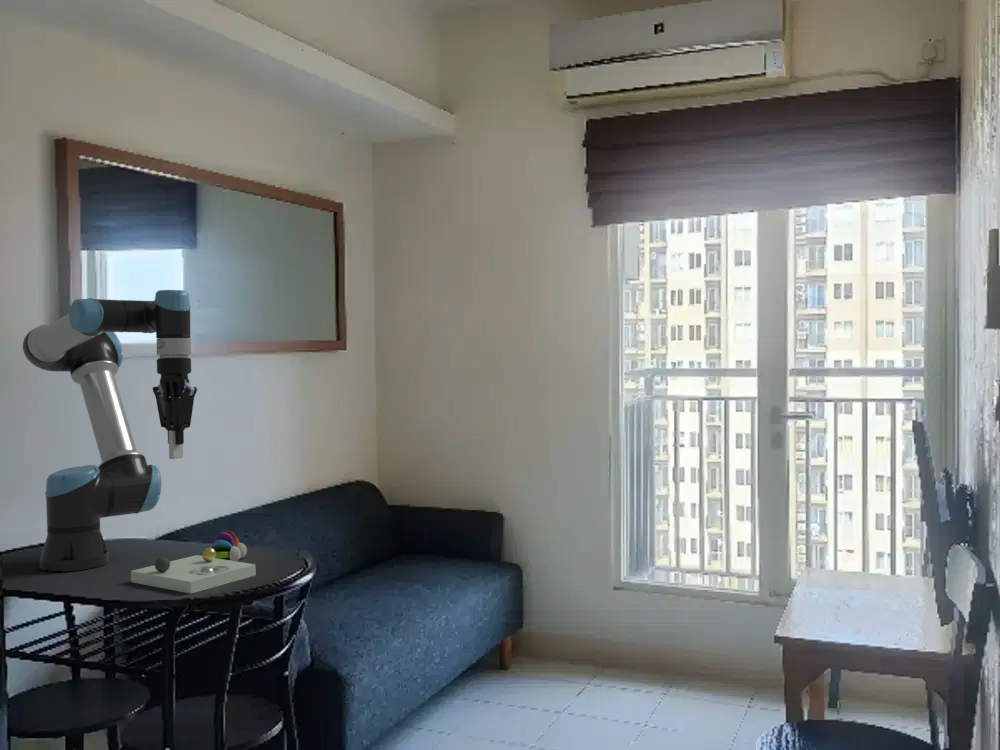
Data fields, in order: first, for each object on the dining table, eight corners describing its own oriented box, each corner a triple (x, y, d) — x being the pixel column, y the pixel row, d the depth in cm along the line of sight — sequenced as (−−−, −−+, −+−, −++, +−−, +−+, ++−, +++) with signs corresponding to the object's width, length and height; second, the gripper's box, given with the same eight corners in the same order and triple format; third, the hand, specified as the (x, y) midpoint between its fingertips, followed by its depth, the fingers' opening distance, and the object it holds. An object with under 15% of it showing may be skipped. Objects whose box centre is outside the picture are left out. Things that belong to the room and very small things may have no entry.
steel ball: (194, 573, 203) (202, 565, 201) (206, 570, 206) (214, 562, 204) (200, 585, 202) (208, 578, 200) (212, 582, 205) (220, 575, 203)
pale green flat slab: (131, 582, 203) (130, 570, 203) (196, 565, 219) (196, 555, 218) (191, 593, 193) (190, 581, 193) (255, 575, 208) (255, 564, 208)
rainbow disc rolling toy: (250, 556, 228) (249, 527, 228) (235, 565, 219) (234, 535, 219) (217, 556, 229) (216, 527, 229) (201, 565, 219) (200, 535, 219)
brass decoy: (198, 561, 211) (198, 548, 211) (209, 559, 214) (209, 545, 214) (208, 563, 210) (207, 549, 209) (219, 560, 212) (219, 547, 212)
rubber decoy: (151, 572, 202) (151, 558, 201) (164, 569, 204) (163, 555, 204) (161, 574, 200) (160, 559, 200) (173, 571, 203) (173, 556, 202)
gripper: (141, 357, 212) (144, 458, 213) (179, 356, 205) (181, 461, 206) (169, 357, 218) (171, 455, 219) (205, 356, 211) (208, 458, 212)
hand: (176, 458), depth 212 cm, fingers closed
